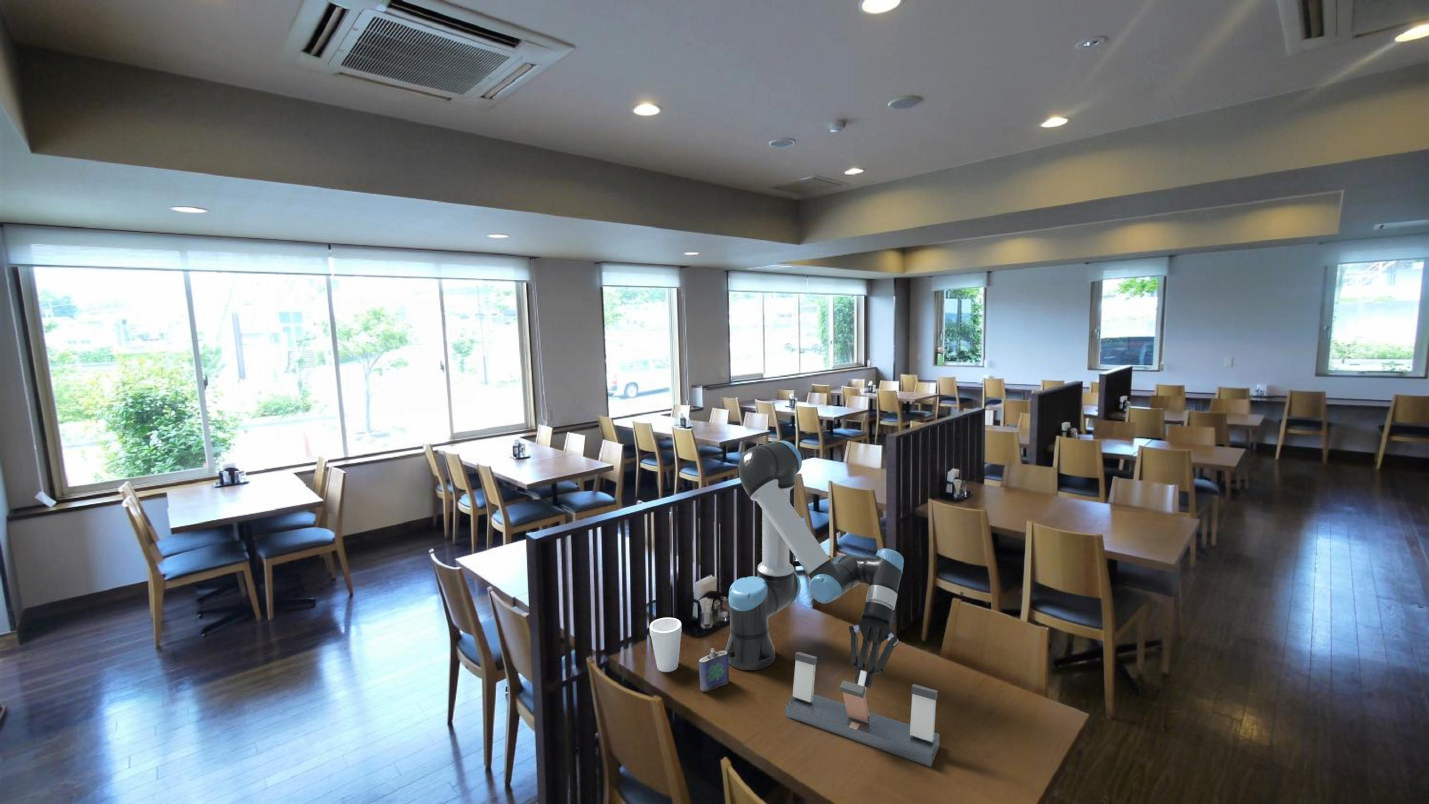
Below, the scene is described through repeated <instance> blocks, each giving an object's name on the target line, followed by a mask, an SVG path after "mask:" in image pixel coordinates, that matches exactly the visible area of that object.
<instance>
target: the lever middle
mask: <svg viewBox="0 0 1429 804" xmlns="http://www.w3.org/2000/svg"><path fill="white" fill-rule="evenodd" d="M840 683H841V684H840V685H839V688H840V692H842V696H843V700H844V704H845V706H846V710H847V714H848V717H852V718H855V719H858V720H861V721H864V722H867V723H868V721H869V718H870V716H869V712H870V711H869V706H868V702H867V698H866V697H867V696H866V693H865V687H864V686H861V685H858V684H856V683H855V682H850V681H847V680H844V679H842V681H841V682H840Z"/></svg>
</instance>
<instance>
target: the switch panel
mask: <svg viewBox="0 0 1429 804" xmlns="http://www.w3.org/2000/svg"><path fill="white" fill-rule="evenodd" d="M784 706H785V707H784V708H785V717H786V718H789V719H792V720H795V721H798V722H801V723H804V724H807V725H809V726H813V727H815V728H818V729H821V730H824V731H827V732H829V733H833V734H835V735H838V736H840V737H845V738H846V739H850V740H852V741H855V742H858V743H860V744H864V745H867V746H870V747H872V748H875V749H878V750H881V751H884V752H886V753H890V754H892V755H895V756H898V757H900V758H904V759H907V760H910V761H912V762H916V763H919V764H921V765H923V766H927V767H930V768H932V766H933V762H934V761H935V758H936V755H937V753H938V751H939V748H940V733H938V732H935V731H934V740H933V742H931V741H928V740H924V739H921V738H918V737H915V736H912V735H910V723H905V722H903V721H899V720H897V719H893V718H890V717H887V716H884V715H881V714H879V713H875V712H871V711H869V716H870V718H869V721H868V723H867V722H864V721H861V720H858V719H855V718H852V717H848V714H847V710H846V706H845V703H842V702H840V701H838V700H837V701H836V700H833V699H830V698H827V697H825V696H821V695H818V694H814V693H813V701H812V702H808V701H805V700H802V699H799V698H796V697H793V696H791V698H790V700H788V702H787V703H786V704H785V705H784Z"/></svg>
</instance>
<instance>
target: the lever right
mask: <svg viewBox="0 0 1429 804" xmlns="http://www.w3.org/2000/svg"><path fill="white" fill-rule="evenodd" d="M910 693H911V707H910V709H911V712H910V723H909V724H910V735H912V736H915V737H918V738H921V739H924V740H928V741H931V742H933V740H934V732H935V725H936V723H935V722H936V710H937V709H936V705H937V699H938V690H936V689H932V688H930V687H926V686H923V685H919V684H915V683H913V684H912V685H911V691H910Z"/></svg>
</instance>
